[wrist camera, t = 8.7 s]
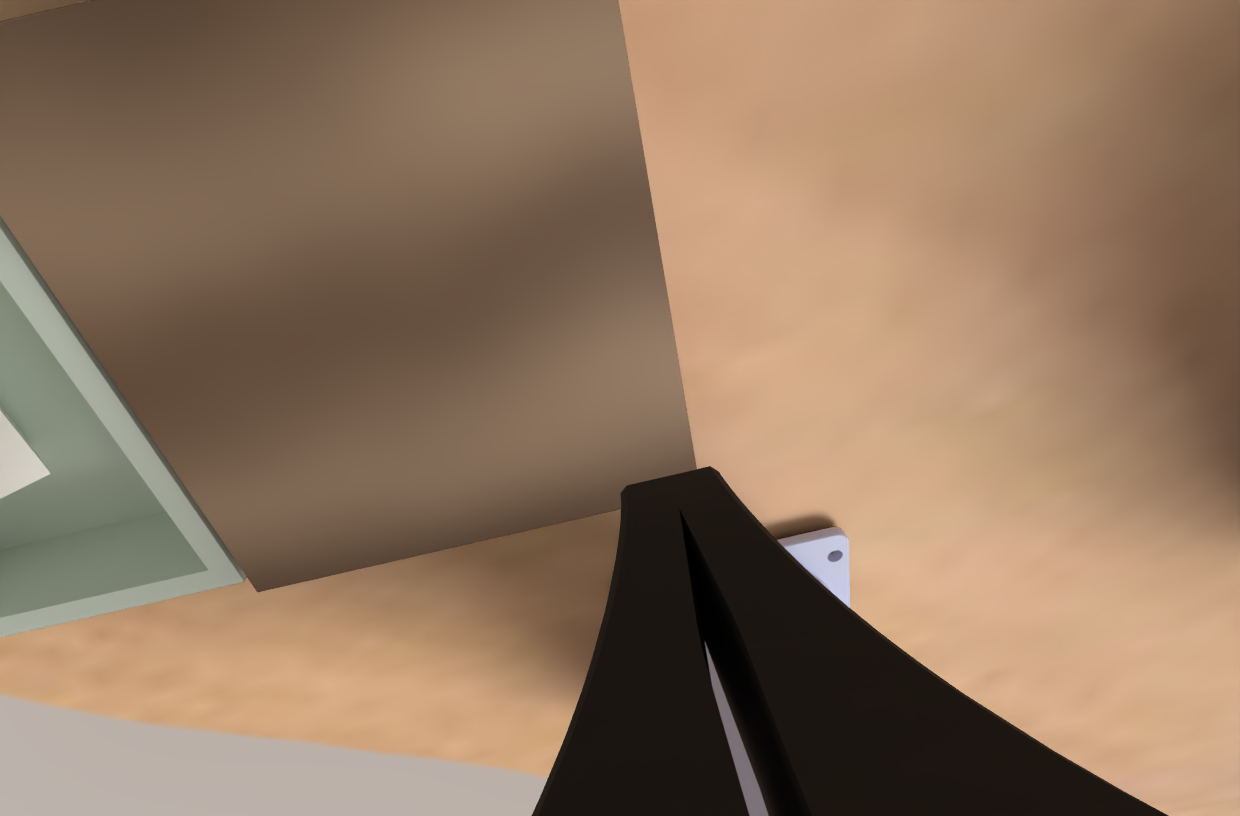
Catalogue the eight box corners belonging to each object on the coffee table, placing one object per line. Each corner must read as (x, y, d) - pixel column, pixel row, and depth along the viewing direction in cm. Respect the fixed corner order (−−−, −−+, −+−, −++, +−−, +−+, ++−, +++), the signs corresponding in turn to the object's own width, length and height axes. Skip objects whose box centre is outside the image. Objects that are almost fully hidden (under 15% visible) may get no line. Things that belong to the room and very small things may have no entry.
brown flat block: (670, 405, 20) (700, 490, 17) (301, 489, 20) (257, 592, 17) (579, -94, 14) (598, -116, 11) (39, 30, 14) (-115, 47, 11)
